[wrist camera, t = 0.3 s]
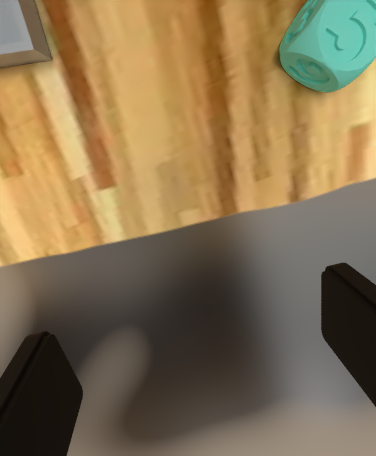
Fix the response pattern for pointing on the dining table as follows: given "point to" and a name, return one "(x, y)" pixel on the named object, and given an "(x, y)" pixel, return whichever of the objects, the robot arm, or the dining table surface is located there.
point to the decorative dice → (330, 43)
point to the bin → (21, 34)
